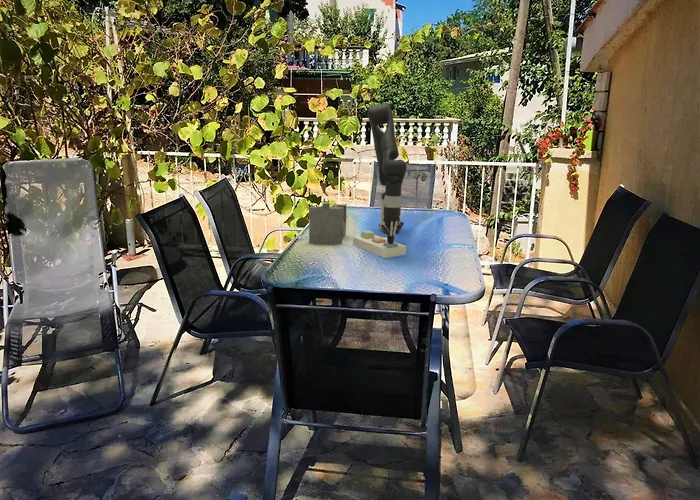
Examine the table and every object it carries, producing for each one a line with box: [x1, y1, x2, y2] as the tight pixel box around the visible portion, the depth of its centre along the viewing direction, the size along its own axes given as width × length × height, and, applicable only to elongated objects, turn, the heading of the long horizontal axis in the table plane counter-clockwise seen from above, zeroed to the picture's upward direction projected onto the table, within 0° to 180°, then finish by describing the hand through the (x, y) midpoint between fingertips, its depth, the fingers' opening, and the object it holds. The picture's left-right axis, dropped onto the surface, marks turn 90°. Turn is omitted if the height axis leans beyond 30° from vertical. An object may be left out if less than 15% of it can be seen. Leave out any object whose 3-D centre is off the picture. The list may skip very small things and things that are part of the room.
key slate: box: [383, 241, 398, 248], centre depth 242 cm, size 5×5×3 cm
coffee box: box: [331, 203, 347, 240], centre depth 269 cm, size 9×6×16 cm
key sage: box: [360, 230, 376, 239], centre depth 256 cm, size 5×5×3 cm
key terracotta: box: [372, 237, 386, 243], centre depth 249 cm, size 5×5×3 cm
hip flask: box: [308, 201, 343, 245], centre depth 256 cm, size 16×4×20 cm, turn 92°
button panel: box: [352, 234, 407, 259], centre depth 249 cm, size 12×26×4 cm, turn 33°
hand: (390, 243), depth 241 cm, fingers closed
